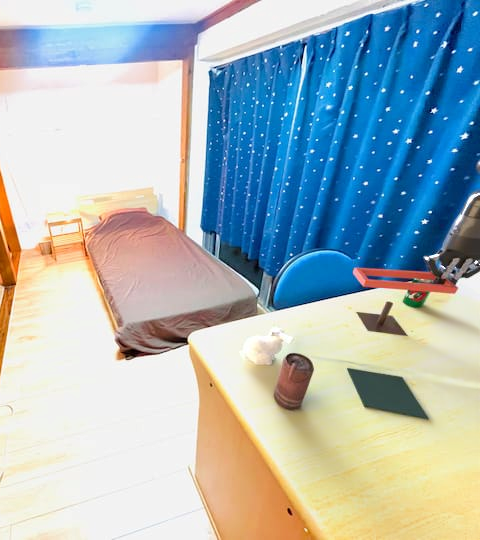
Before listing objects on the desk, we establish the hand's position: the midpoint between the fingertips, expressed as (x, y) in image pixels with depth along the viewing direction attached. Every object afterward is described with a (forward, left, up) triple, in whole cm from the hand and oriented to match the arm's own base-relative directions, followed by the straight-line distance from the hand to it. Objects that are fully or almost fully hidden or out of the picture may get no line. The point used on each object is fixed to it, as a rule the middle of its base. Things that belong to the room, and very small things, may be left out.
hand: (440, 288), depth 79 cm
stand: (+10, 0, -16) cm, 19 cm away
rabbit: (+46, +23, -16) cm, 54 cm away
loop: (+10, 0, +1) cm, 10 cm away
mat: (+19, +28, -16) cm, 37 cm away
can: (+42, +37, -16) cm, 58 cm away
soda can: (-4, -14, -16) cm, 22 cm away
